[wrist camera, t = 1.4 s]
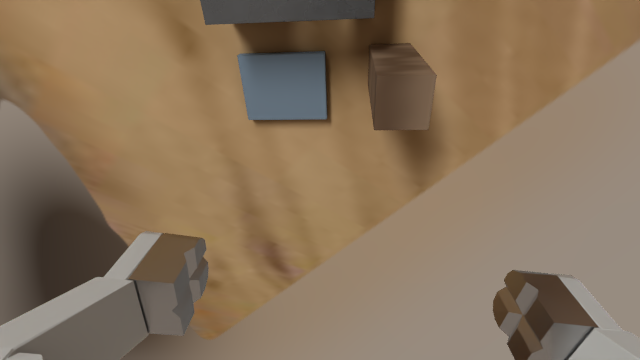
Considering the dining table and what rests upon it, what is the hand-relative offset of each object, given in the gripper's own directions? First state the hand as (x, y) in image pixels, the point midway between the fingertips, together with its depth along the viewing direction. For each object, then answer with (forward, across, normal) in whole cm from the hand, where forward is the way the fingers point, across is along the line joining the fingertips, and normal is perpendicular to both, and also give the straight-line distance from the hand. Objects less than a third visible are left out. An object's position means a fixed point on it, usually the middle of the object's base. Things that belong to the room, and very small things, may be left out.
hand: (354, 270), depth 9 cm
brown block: (+28, -5, -1) cm, 29 cm away
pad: (+29, +6, +2) cm, 30 cm away
